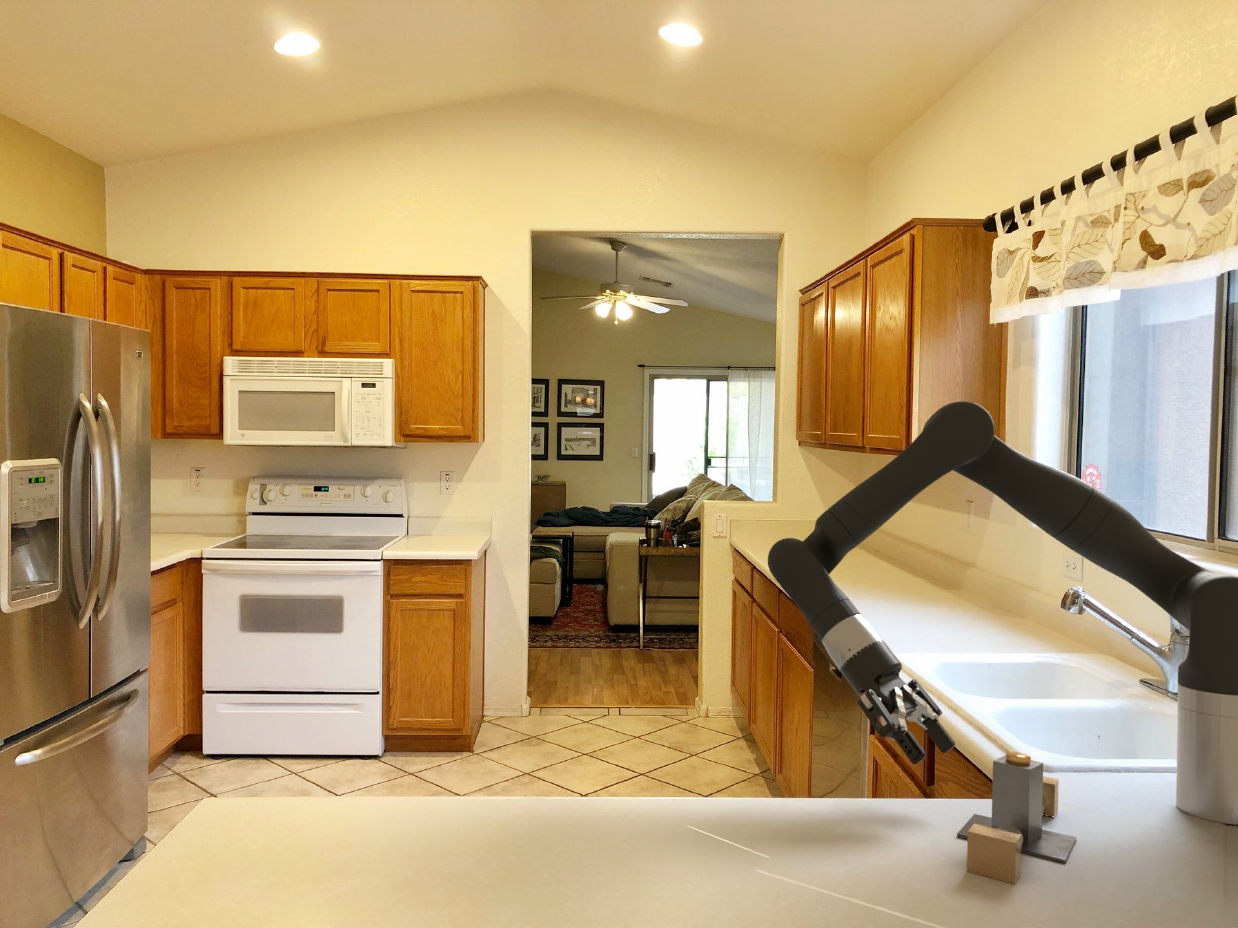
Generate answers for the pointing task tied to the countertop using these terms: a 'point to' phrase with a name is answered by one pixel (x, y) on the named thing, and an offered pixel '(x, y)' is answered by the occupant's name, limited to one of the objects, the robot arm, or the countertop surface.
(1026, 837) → the gold-capped grey pillar
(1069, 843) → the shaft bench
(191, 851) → the countertop surface
